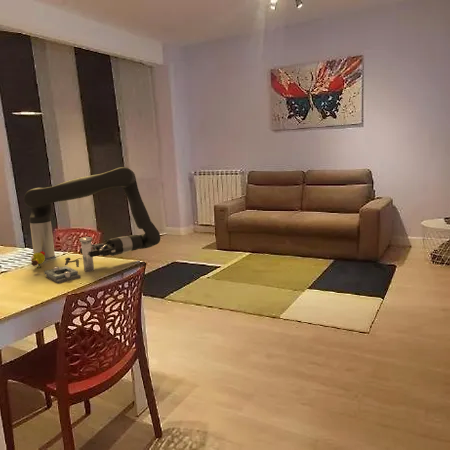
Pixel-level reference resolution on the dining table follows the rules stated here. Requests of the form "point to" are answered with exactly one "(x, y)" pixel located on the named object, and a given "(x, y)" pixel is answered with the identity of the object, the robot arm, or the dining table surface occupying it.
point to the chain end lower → (66, 278)
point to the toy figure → (38, 259)
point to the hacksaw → (72, 261)
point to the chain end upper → (56, 270)
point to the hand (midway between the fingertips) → (85, 252)
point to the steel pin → (87, 253)
